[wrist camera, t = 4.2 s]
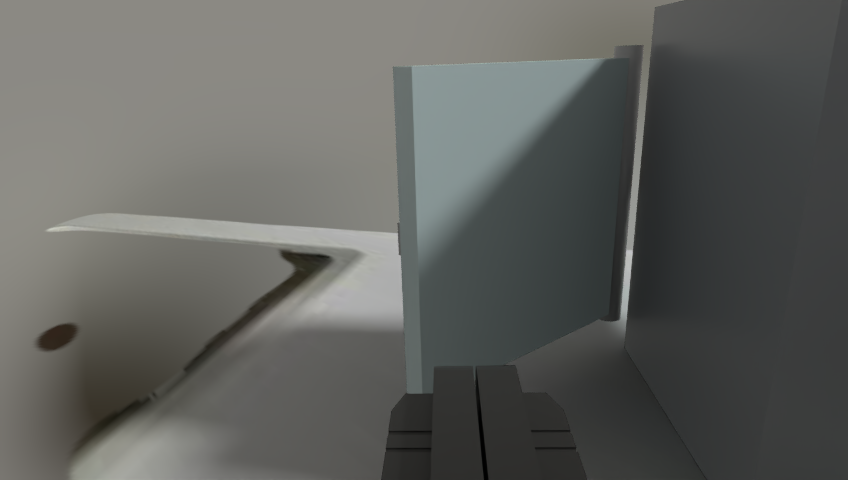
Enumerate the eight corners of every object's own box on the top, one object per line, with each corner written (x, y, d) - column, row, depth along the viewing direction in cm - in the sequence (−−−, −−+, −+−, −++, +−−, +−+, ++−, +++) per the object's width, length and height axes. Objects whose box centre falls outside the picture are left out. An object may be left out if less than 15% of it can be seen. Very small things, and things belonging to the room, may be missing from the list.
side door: (625, 316, 29) (649, 45, 25) (424, 416, 21) (413, 49, 17) (597, 306, 30) (616, 46, 26) (398, 397, 22) (382, 50, 18)
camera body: (795, 321, 31) (859, -19, 26) (1085, 539, 17) (1355, -109, 12) (609, 323, 31) (636, -12, 26) (743, 538, 17) (858, -90, 12)
